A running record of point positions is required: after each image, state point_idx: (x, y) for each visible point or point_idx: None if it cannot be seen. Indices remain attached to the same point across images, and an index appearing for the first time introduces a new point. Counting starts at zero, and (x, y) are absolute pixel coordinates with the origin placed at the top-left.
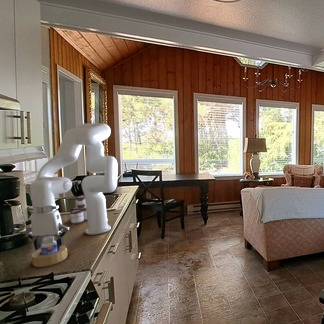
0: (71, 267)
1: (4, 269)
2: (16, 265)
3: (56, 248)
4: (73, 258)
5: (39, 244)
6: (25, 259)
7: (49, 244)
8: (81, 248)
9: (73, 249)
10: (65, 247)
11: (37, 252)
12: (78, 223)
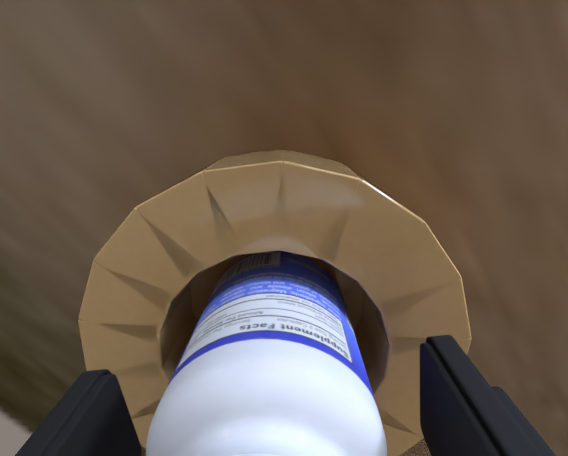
0: (549, 431)
1: (5, 415)
2: (38, 367)
3: (362, 360)
4: (501, 288)
5: (94, 451)
6: (4, 267)
7: None
8: (493, 22)
9: (393, 48)
10: (439, 269)
11: (138, 382)
12: None
